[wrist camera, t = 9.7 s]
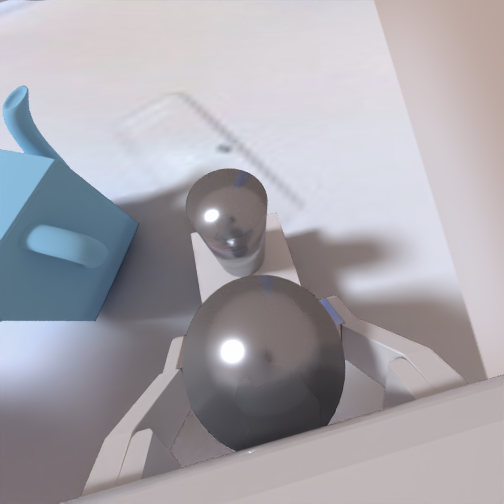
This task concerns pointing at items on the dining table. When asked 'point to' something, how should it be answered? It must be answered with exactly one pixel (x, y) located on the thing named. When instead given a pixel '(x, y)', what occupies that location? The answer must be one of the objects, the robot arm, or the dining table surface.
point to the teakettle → (53, 230)
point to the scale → (273, 264)
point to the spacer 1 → (230, 218)
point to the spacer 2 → (262, 362)
